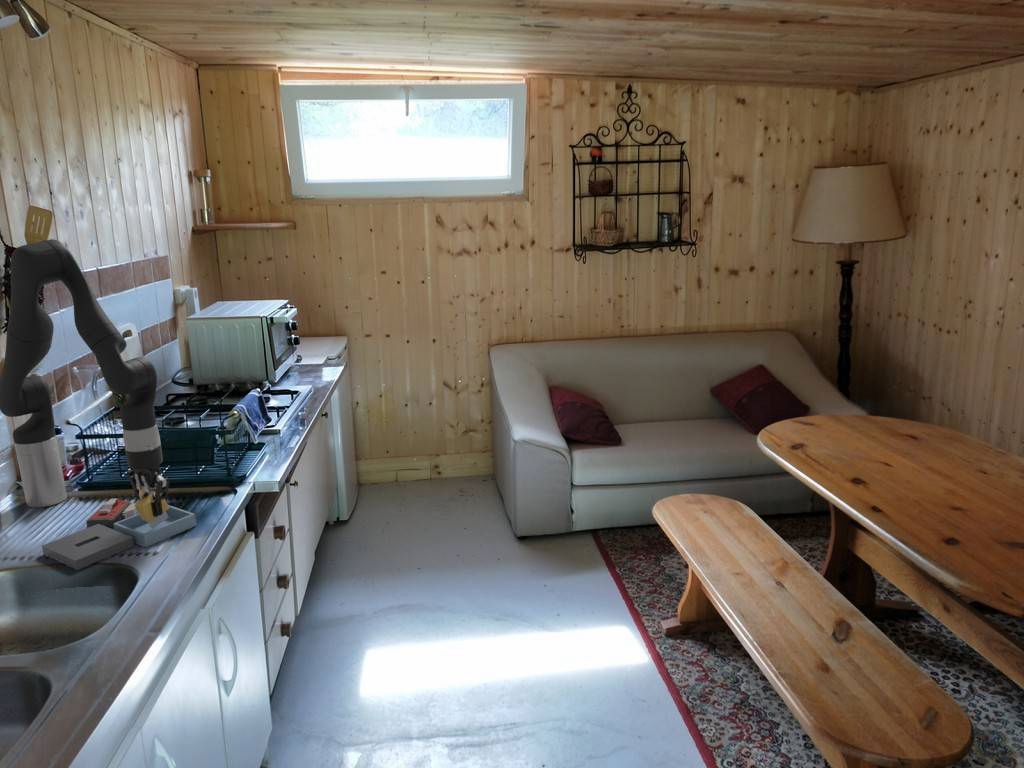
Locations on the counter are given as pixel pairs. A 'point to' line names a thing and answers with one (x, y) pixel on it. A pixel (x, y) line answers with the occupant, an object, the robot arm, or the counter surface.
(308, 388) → the counter surface
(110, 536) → the grey slotted base
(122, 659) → the counter surface
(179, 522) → the tray
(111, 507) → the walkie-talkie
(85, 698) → the counter surface
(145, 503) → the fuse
